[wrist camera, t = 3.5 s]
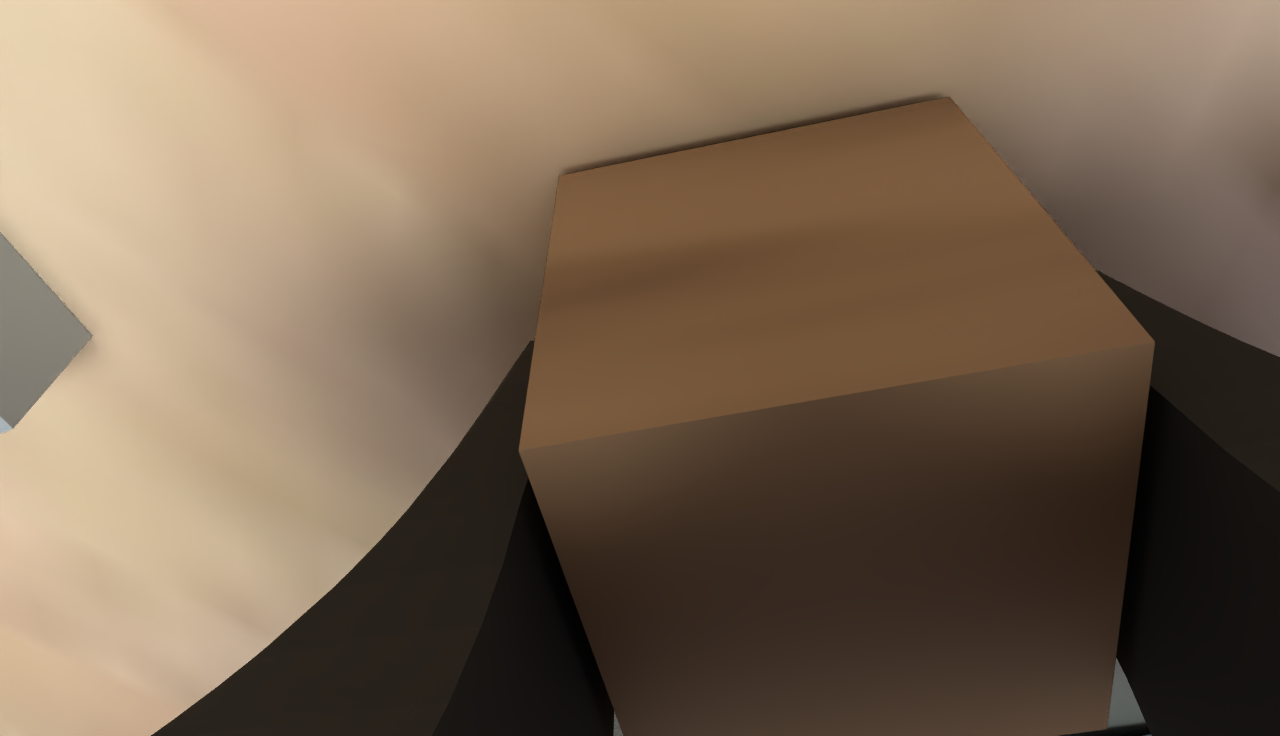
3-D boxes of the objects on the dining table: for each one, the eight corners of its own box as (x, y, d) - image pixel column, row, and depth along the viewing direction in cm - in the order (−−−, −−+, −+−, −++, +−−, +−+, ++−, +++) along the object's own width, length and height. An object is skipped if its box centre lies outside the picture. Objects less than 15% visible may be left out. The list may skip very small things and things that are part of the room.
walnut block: (956, 409, 13) (1107, 729, 9) (638, 462, 14) (642, 788, 9) (948, 96, 11) (1154, 341, 6) (558, 175, 11) (518, 451, 7)
